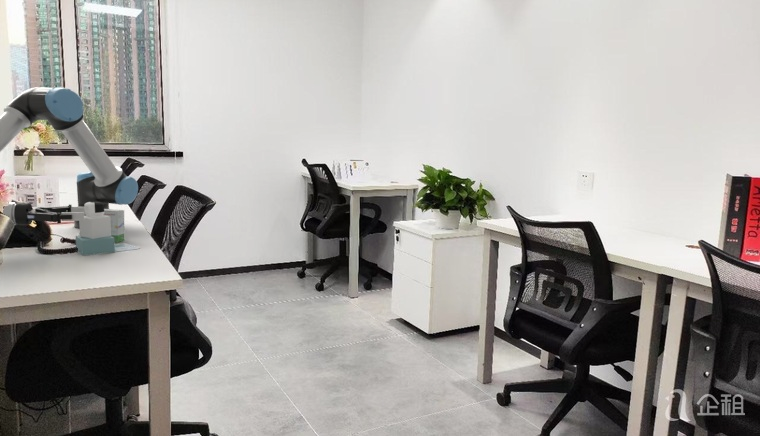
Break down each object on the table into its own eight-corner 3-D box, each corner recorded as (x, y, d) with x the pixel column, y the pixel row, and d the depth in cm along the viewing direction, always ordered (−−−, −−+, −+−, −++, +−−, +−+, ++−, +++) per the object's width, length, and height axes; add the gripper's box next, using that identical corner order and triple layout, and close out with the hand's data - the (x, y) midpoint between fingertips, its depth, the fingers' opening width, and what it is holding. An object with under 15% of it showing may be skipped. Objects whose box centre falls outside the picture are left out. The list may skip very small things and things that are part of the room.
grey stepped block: (98, 234, 199) (97, 200, 197) (111, 236, 196) (110, 202, 194) (79, 236, 193) (77, 202, 191) (92, 239, 190) (90, 204, 188)
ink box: (96, 241, 211) (95, 209, 209) (104, 238, 216) (103, 208, 214) (118, 242, 210) (117, 211, 208) (125, 240, 215) (124, 209, 213)
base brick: (76, 249, 196) (75, 235, 195) (107, 246, 202) (106, 233, 201) (82, 255, 188) (81, 240, 187) (114, 252, 194) (114, 237, 193)
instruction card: (103, 245, 203) (103, 245, 203) (125, 243, 209) (125, 242, 209) (117, 251, 195) (117, 251, 195) (140, 248, 201) (140, 248, 201)
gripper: (28, 219, 198) (95, 218, 205) (4, 231, 175) (80, 230, 181) (27, 197, 197) (94, 197, 203) (2, 207, 174) (79, 207, 180)
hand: (88, 213), depth 192 cm, fingers open, 13 cm apart
